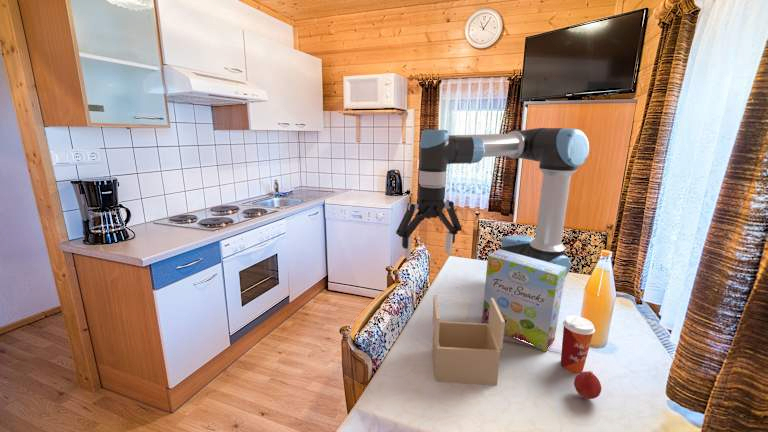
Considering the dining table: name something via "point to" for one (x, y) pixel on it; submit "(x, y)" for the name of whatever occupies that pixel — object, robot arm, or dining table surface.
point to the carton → (466, 354)
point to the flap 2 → (496, 323)
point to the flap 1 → (436, 320)
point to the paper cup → (576, 343)
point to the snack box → (525, 296)
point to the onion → (587, 385)
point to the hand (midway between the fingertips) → (428, 255)
